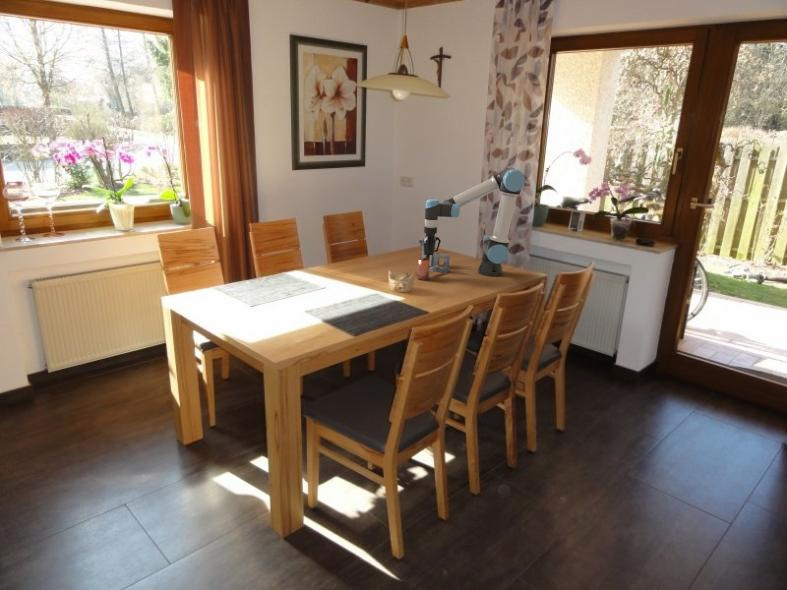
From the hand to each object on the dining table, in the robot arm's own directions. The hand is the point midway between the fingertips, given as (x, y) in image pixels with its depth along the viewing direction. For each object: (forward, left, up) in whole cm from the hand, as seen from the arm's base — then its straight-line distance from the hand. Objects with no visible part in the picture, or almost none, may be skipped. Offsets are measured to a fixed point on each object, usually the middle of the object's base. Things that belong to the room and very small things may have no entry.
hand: (428, 265), depth 326 cm
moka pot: (+13, -24, -7) cm, 28 cm away
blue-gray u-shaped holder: (0, -17, -7) cm, 18 cm away
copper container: (0, -1, -6) cm, 6 cm away
